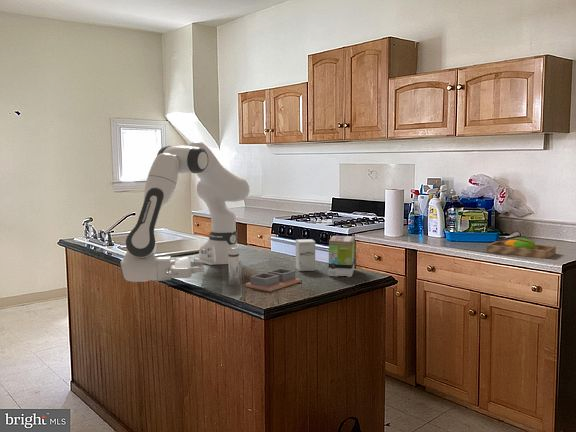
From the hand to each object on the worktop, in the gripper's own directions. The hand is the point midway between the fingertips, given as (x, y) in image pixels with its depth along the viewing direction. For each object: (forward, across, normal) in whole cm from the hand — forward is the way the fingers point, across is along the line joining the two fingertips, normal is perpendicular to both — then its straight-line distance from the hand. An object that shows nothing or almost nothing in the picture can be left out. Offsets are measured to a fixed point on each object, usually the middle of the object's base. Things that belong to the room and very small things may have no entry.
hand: (203, 266), depth 203 cm
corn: (+154, +32, +8) cm, 158 cm away
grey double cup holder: (+26, -4, +8) cm, 27 cm away
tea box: (+57, +9, +8) cm, 58 cm away
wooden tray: (+155, +32, +8) cm, 158 cm away
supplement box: (+44, +19, +8) cm, 49 cm away
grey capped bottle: (+11, 0, +8) cm, 14 cm away
